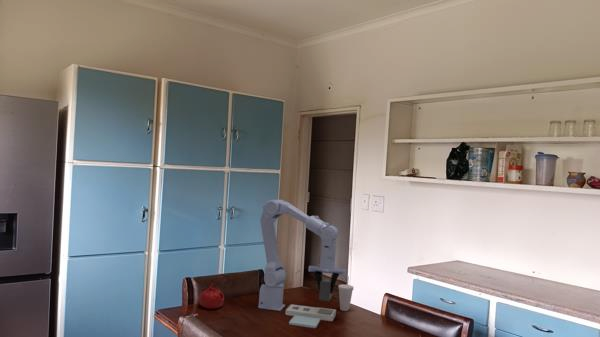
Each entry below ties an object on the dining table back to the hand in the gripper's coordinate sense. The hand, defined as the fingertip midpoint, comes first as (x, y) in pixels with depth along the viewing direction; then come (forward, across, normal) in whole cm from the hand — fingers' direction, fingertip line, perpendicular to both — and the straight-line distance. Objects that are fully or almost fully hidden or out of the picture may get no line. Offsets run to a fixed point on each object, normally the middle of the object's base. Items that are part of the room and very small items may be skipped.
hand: (325, 291), depth 171 cm
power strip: (+10, -5, 0) cm, 11 cm away
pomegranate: (+10, -45, -6) cm, 46 cm away
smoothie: (+10, +6, +13) cm, 18 cm away
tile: (+10, -6, -10) cm, 15 cm away
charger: (+3, 0, 0) cm, 3 cm away
